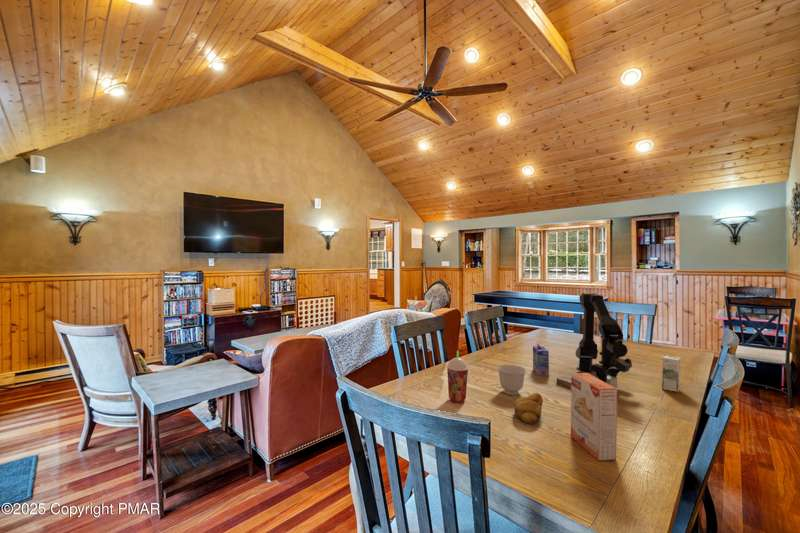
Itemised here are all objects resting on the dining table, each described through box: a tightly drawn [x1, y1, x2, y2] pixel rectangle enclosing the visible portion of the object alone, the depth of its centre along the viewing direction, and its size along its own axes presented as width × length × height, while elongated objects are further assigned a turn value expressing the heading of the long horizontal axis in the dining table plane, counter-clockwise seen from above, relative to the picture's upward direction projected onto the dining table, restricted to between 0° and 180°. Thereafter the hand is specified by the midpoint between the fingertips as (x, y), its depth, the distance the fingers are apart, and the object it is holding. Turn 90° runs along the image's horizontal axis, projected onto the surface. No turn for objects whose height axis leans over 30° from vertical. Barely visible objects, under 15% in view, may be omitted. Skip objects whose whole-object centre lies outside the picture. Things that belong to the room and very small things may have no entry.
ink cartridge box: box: [532, 343, 550, 377], centre depth 178 cm, size 10×6×14 cm, turn 174°
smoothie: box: [446, 350, 469, 404], centre depth 142 cm, size 8×8×20 cm
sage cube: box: [606, 375, 618, 390], centre depth 157 cm, size 5×5×5 cm
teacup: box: [496, 364, 527, 396], centre depth 153 cm, size 12×15×10 cm
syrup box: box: [661, 354, 681, 393], centre depth 156 cm, size 6×6×14 cm
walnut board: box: [556, 374, 572, 390], centre depth 161 cm, size 10×10×3 cm
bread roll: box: [513, 392, 544, 425], centre depth 128 cm, size 13×10×8 cm
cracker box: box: [570, 372, 618, 462], centre depth 107 cm, size 14×6×21 cm, turn 5°
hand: (608, 385), depth 157 cm, fingers open, 6 cm apart
